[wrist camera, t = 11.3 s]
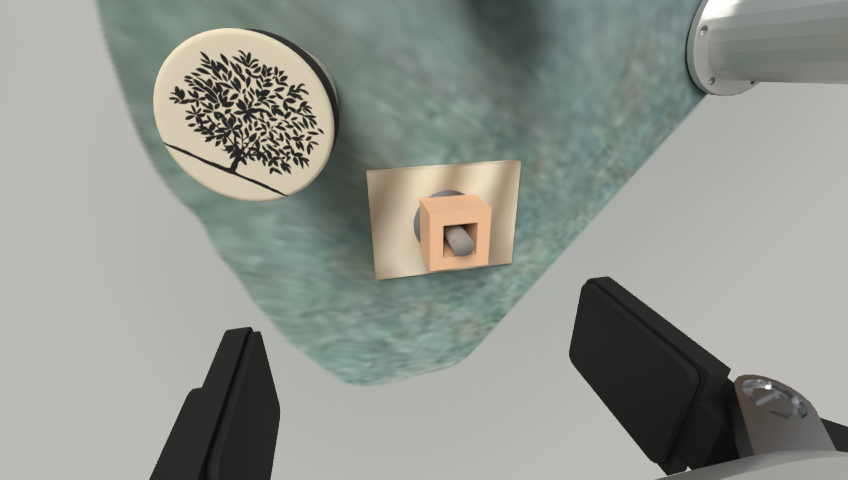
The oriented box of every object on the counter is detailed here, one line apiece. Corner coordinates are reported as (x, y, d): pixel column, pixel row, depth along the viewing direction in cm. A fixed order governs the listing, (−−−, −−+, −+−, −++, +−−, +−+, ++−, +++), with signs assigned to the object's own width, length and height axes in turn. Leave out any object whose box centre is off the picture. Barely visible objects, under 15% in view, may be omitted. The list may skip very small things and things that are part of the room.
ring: (475, 194, 39) (491, 208, 35) (472, 245, 41) (487, 264, 37) (419, 198, 37) (429, 213, 34) (420, 251, 40) (429, 271, 36)
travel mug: (272, 22, 30) (200, -29, 14) (354, 87, 33) (372, 106, 17) (223, 105, 32) (111, 143, 16) (307, 159, 35) (283, 236, 19)
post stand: (516, 159, 40) (550, 177, 33) (507, 258, 45) (535, 290, 38) (365, 170, 37) (372, 191, 30) (374, 274, 42) (382, 312, 35)
